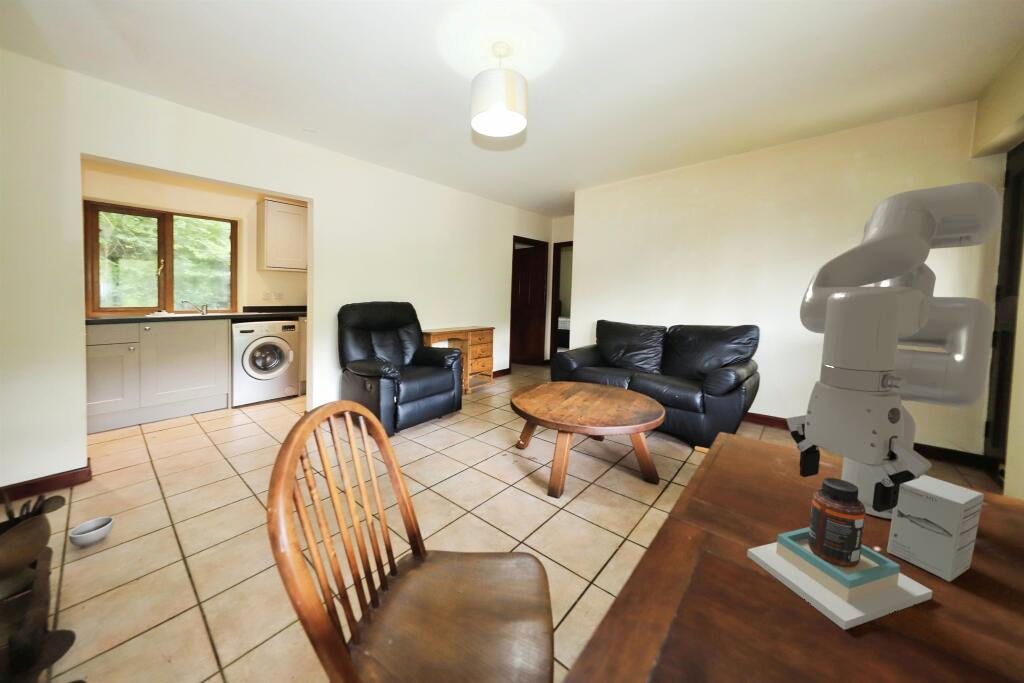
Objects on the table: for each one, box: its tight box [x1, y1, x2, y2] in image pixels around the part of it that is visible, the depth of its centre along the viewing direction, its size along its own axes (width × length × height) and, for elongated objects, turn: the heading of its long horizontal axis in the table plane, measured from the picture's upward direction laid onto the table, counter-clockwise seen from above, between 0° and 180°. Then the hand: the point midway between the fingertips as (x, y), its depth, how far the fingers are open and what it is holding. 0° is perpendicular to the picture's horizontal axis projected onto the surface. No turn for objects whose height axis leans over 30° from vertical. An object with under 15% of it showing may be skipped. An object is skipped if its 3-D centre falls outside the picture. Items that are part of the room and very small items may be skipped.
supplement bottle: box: [808, 477, 866, 566], centre depth 56 cm, size 6×6×11 cm
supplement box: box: [886, 474, 985, 583], centre depth 59 cm, size 7×7×13 cm
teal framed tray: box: [746, 526, 933, 631], centre depth 56 cm, size 17×14×4 cm
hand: (842, 490), depth 55 cm, fingers open, 9 cm apart
